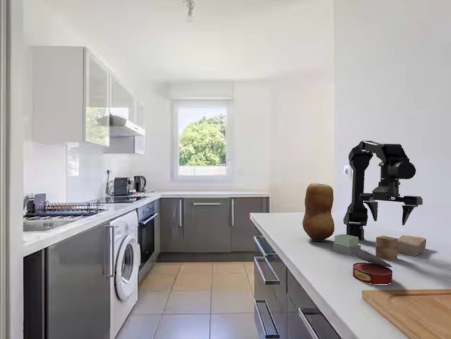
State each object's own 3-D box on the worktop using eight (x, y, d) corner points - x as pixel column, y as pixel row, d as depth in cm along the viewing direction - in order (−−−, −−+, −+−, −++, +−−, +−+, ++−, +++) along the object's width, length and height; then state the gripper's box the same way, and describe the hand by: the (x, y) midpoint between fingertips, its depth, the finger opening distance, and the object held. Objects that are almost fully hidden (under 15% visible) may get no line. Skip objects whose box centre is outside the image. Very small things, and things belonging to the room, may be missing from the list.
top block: (334, 243, 107) (334, 235, 107) (343, 241, 110) (343, 234, 110) (349, 247, 102) (349, 238, 102) (358, 245, 105) (358, 237, 105)
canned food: (351, 290, 82) (343, 255, 86) (388, 288, 81) (378, 253, 85) (363, 285, 72) (353, 246, 77) (405, 283, 71) (392, 243, 76)
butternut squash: (338, 244, 116) (339, 184, 116) (306, 243, 116) (307, 183, 117) (327, 237, 130) (328, 183, 130) (298, 236, 130) (299, 182, 130)
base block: (332, 251, 107) (333, 243, 107) (343, 249, 111) (343, 241, 111) (350, 256, 101) (350, 247, 101) (360, 253, 105) (360, 245, 105)
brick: (416, 257, 101) (417, 244, 102) (390, 252, 107) (391, 239, 108) (426, 249, 113) (426, 237, 113) (402, 245, 119) (402, 234, 119)
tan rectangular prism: (375, 256, 100) (376, 237, 100) (382, 254, 103) (382, 235, 103) (390, 260, 96) (391, 240, 96) (397, 258, 99) (397, 238, 99)
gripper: (352, 178, 102) (351, 221, 102) (410, 179, 87) (409, 230, 87) (367, 178, 109) (366, 218, 109) (423, 179, 94) (422, 226, 94)
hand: (388, 223), depth 99 cm, fingers open, 9 cm apart
